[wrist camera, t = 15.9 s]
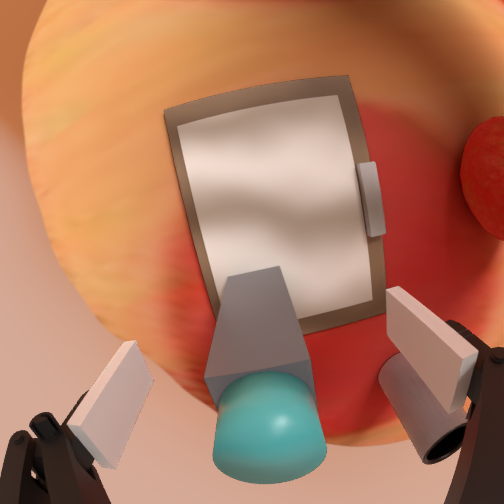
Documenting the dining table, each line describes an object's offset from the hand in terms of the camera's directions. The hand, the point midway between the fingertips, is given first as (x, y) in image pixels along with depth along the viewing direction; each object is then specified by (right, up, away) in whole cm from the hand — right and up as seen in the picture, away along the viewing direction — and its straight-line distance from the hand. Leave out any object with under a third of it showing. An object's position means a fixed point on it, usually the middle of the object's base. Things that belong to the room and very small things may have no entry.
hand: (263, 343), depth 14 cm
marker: (0, +1, +6) cm, 7 cm away
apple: (+20, +11, +5) cm, 24 cm away
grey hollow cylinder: (+13, -6, +9) cm, 17 cm away
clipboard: (+2, +7, +6) cm, 9 cm away
